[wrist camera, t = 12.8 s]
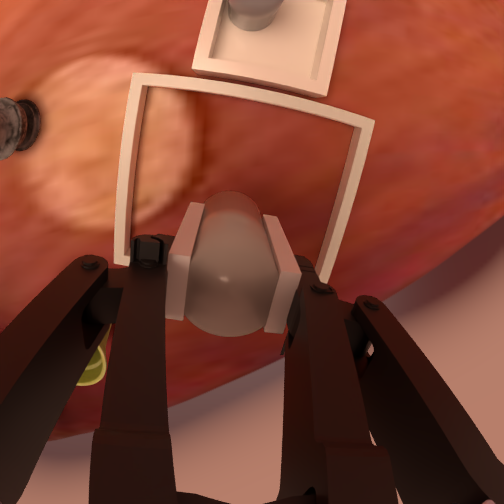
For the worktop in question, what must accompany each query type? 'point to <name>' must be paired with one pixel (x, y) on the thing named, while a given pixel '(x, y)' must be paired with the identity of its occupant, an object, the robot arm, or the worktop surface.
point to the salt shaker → (17, 125)
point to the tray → (145, 80)
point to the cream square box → (273, 46)
